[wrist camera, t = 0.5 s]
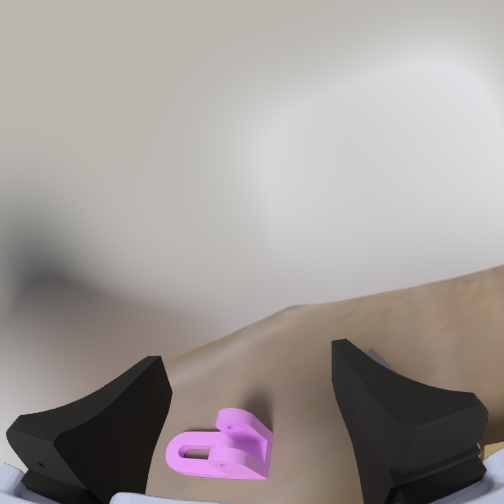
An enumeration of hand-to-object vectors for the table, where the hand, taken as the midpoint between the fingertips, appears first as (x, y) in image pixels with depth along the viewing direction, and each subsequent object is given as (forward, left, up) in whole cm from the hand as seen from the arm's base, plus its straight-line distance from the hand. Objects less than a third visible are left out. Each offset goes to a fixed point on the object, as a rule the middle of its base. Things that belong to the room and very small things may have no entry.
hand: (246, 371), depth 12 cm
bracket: (+9, +11, -21) cm, 25 cm away
